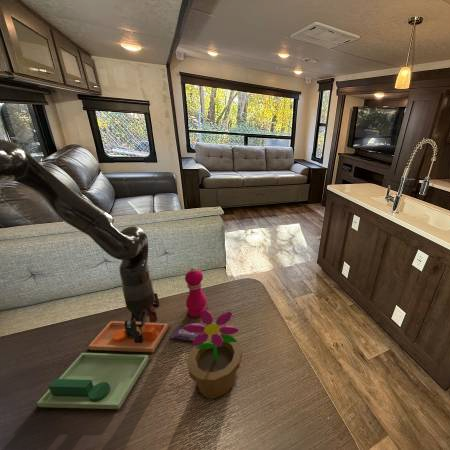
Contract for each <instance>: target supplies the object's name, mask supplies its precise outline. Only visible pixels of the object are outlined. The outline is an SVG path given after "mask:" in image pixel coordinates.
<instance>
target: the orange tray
mask: <svg viewBox="0 0 450 450" xmlns="http://www.w3.org/2000/svg"><path fill="white" fill-rule="evenodd" d="M135 322H136V323H137V324H141V322H139V321H135ZM124 323H125V321H114V320H111V321H110V322H108V323H107V325H106V326H105V327H104V328H102V330H101V331H100V332H99V333H98V335H96V337H95V338H94V339H93V340H92V341H91V342H90V343H89V345H88V346H87V347H88V350H90V351H112V352H113V351H114V352H137V353H139V352H140V353H154V352H155V350H156V348H157V347H158V345H159V343H160V342H161V340H162V338H163V336H164V335H165V333H166V331H167V330H168V329H169V324H168V323H158V322H145V325H144V326H143V327H153V328H155V329H156V334H157V337H156V338H155V340H154V341H146V340H144V341H143V342H142V343H135V342H134V340H124V341H122V342H114V341H113V339H112V335H113V333H114V332H116V331H117V330H120V329H125V325H124Z"/></svg>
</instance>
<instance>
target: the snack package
mask: <svg viewBox="0 0 450 450" xmlns="http://www.w3.org/2000/svg"><path fill="white" fill-rule="evenodd" d="M201 333H205V331H202V332H199V333H190V332H188V331H186V330H184V326H177V328H175V331H174V332H173V333H172V334H171V336H170V339H175V340H182V341H191V342H193V341H194V339H195V338H196V337H197V336H198V335H199V334H201Z"/></svg>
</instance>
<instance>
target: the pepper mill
mask: <svg viewBox="0 0 450 450" xmlns="http://www.w3.org/2000/svg"><path fill="white" fill-rule="evenodd" d="M203 279H204V274H203V272H202V271H201V270H200V269H197V268H196V266H195V267H194V266H192V267H191V268H190V270H188V271H187V272H186V273H185V276H184V280H185V283H186V284H187V286H186V287H187V289H188V290H189V291H188V292H189V293H188V296H187V298H186V301H185V306H186V308H187V312H188V313H187V314H188V315H189V316H190V317H192V318H198V317H201V310H204V309H206V310H207V306H206V305H207V297H206V295H205V294H204V293H203V290H202V286H203Z"/></svg>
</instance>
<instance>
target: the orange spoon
mask: <svg viewBox="0 0 450 450" xmlns="http://www.w3.org/2000/svg"><path fill="white" fill-rule="evenodd" d="M136 328H137V331H138V329H139V327H136ZM141 333H142V335H143V340H146V341H154V340H155V338H156V337H157V334H156V329H155V328H153V327H142V332H141ZM112 339H113V341H114V342H122V341H124V340H134V338H127V336H126V330H125V329H120V330H117V331H116V332H114V333H113V335H112Z"/></svg>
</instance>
